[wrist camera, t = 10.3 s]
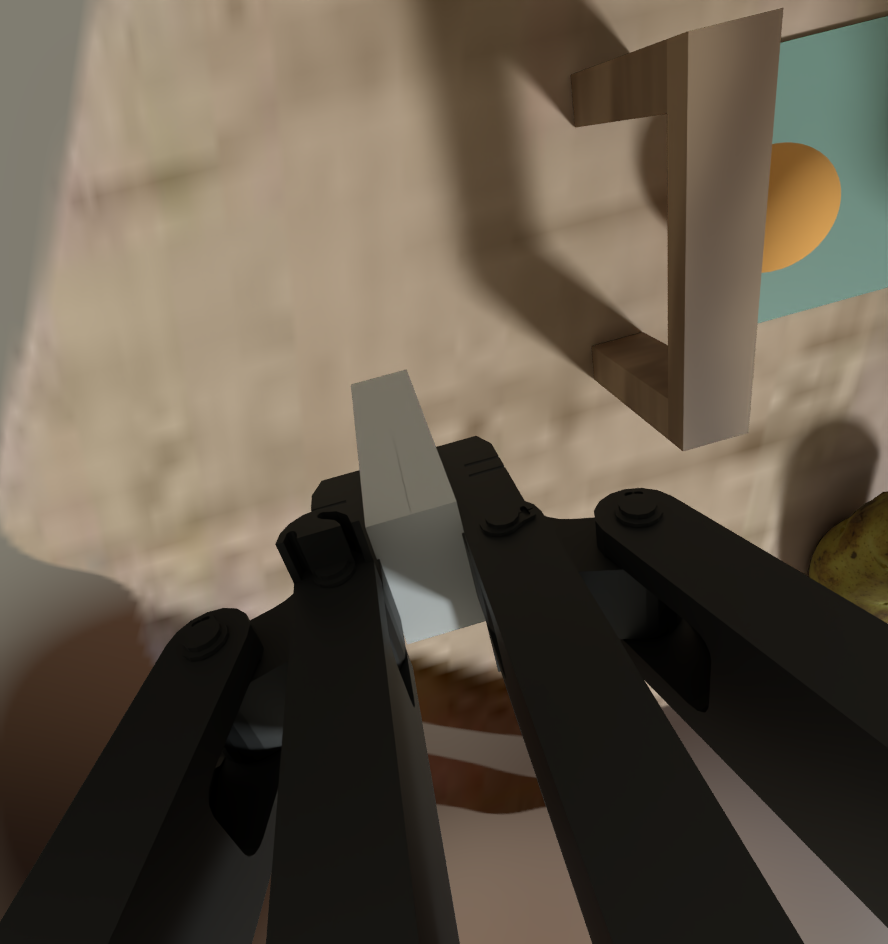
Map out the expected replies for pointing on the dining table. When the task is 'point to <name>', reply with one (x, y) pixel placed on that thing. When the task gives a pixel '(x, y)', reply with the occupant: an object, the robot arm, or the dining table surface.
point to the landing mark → (837, 161)
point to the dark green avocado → (857, 558)
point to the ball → (798, 204)
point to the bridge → (698, 220)
